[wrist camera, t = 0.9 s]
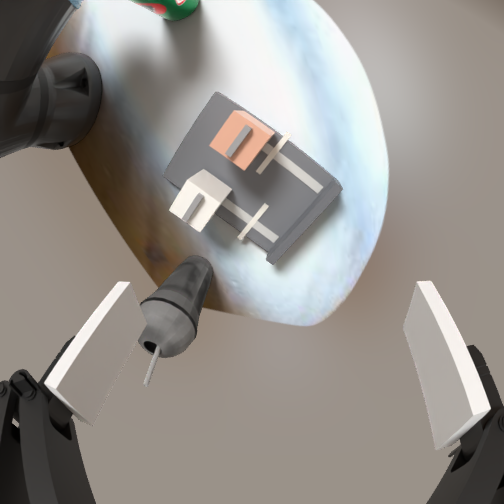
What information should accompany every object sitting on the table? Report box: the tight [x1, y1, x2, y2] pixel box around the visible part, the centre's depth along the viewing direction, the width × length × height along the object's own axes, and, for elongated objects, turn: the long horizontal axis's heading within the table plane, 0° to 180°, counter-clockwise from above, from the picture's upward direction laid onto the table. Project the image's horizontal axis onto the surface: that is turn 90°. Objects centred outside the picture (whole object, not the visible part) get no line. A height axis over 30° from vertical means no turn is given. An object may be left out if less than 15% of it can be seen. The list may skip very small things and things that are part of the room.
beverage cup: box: [138, 256, 213, 387], centre depth 30 cm, size 7×7×20 cm
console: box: [163, 92, 343, 265], centre depth 30 cm, size 17×14×4 cm
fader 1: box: [169, 169, 232, 232], centre depth 29 cm, size 4×4×6 cm
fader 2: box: [209, 110, 275, 171], centre depth 25 cm, size 4×4×6 cm
